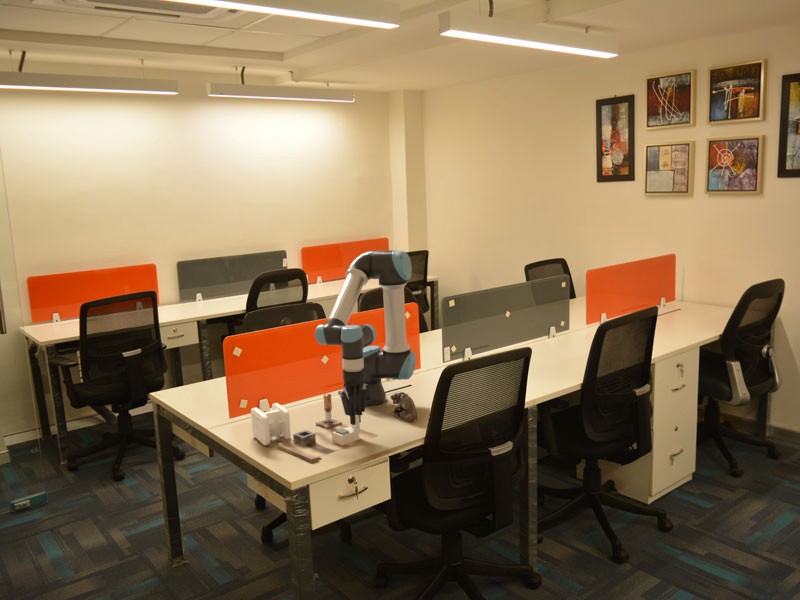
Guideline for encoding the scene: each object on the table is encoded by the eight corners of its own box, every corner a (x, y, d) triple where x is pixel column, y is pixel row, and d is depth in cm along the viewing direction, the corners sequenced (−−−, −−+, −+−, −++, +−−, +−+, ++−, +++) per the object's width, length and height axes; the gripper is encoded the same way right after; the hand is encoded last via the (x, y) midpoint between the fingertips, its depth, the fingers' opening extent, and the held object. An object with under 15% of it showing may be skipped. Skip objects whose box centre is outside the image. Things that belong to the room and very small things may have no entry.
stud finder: (349, 435, 251) (349, 425, 250) (359, 439, 247) (358, 428, 246) (332, 441, 245) (331, 430, 245) (342, 445, 241) (341, 434, 241)
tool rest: (330, 423, 268) (330, 418, 268) (341, 427, 263) (341, 422, 263) (316, 427, 264) (315, 422, 263) (327, 432, 259) (327, 427, 258)
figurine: (402, 411, 279) (402, 388, 278) (421, 421, 267) (420, 396, 265) (389, 414, 276) (388, 390, 275) (407, 424, 264) (406, 399, 262)
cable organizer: (292, 442, 249) (290, 411, 247) (264, 449, 244) (262, 417, 242) (277, 430, 262) (276, 401, 260) (250, 436, 257) (248, 406, 255)
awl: (329, 425, 265) (328, 393, 263) (334, 427, 263) (332, 394, 261) (323, 427, 264) (322, 395, 261) (328, 429, 262) (326, 396, 259)
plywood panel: (344, 426, 265) (343, 415, 264) (378, 438, 250) (378, 427, 250) (278, 447, 244) (277, 436, 244) (311, 462, 230) (310, 451, 229)
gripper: (360, 363, 252) (362, 425, 256) (332, 371, 243) (335, 434, 247) (373, 367, 247) (376, 430, 251) (345, 374, 238) (348, 439, 242)
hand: (356, 432), depth 249 cm, fingers closed
